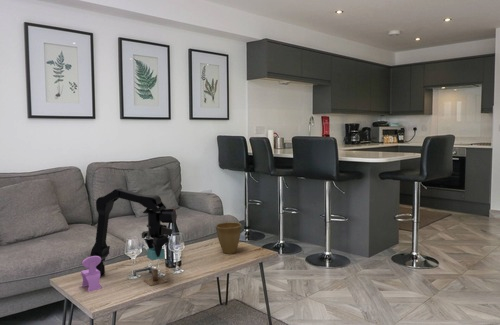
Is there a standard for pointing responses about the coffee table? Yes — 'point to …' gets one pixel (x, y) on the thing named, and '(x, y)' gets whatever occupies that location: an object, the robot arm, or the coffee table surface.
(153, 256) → the teal socket block
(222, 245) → the plant pot
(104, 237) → the robot arm
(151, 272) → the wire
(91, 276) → the toy chair
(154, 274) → the peg
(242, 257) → the coffee table surface
